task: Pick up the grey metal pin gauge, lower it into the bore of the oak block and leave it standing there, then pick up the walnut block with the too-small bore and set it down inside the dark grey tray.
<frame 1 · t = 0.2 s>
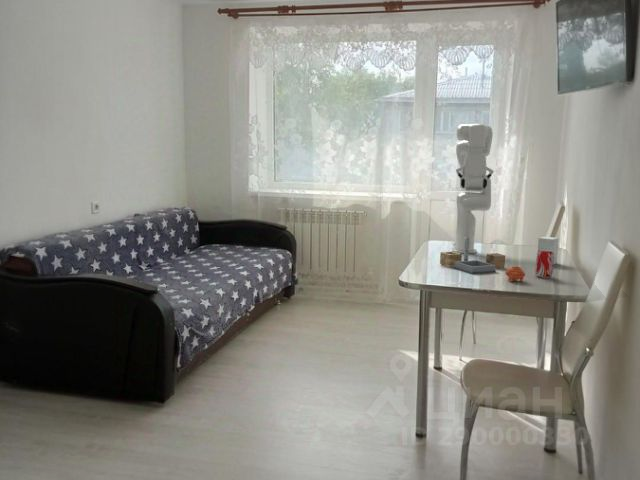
hand: (473, 187, 277), 36 cm above the table, fingers open, 9 cm apart
pot: (514, 281, 247), on the table
oak block: (450, 265, 277), on the table
walnut block: (495, 267, 275), on the table
tray: (474, 270, 267), on the table
pin gauge: (465, 262, 285), on the table
soda can: (543, 277, 256), on the table
supplement box: (546, 263, 287), on the table
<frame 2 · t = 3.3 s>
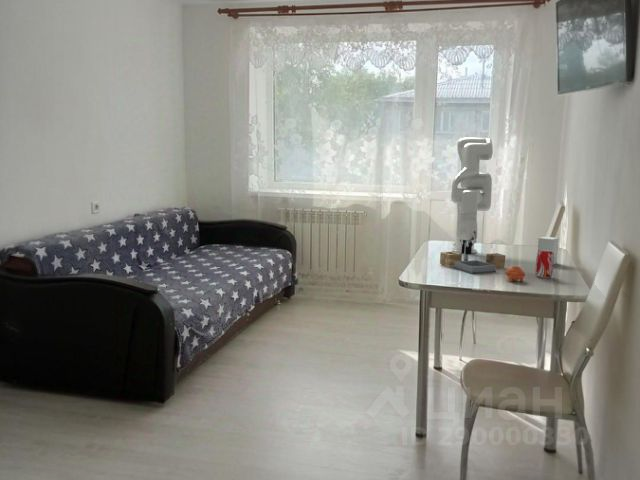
hand: (466, 253, 285), 4 cm above the table, fingers closed on pin gauge, 2 cm apart
pin gauge: (465, 262, 285), on the table, touching gripper
everything else where it was.
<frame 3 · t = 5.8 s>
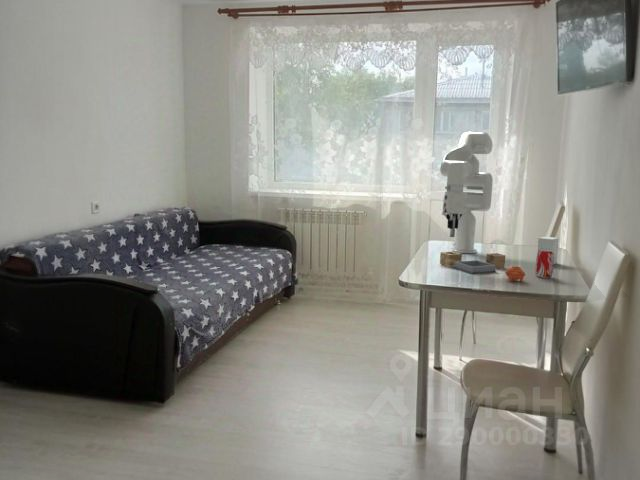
hand: (452, 228, 274), 18 cm above the table, fingers closed on pin gauge
pin gauge: (452, 236, 275), point 14 cm above the table, touching gripper
everything else where it was.
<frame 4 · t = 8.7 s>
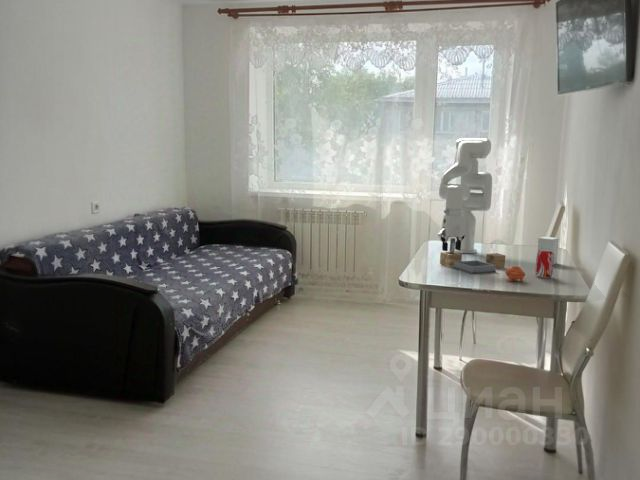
hand: (451, 250, 276), 7 cm above the table, fingers open, 6 cm apart
oak block: (450, 265, 277), on the table, touching pin gauge
pin gauge: (450, 263, 277), point 1 cm above the table, touching oak block
everything else where it was.
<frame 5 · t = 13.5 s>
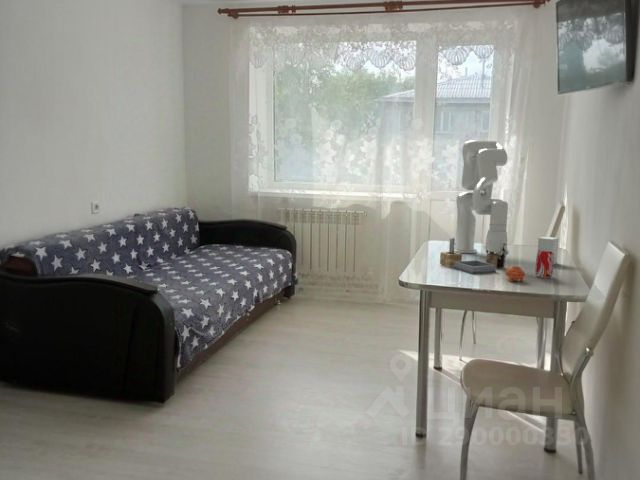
hand: (495, 265, 275), 1 cm above the table, fingers closed on walnut block, 6 cm apart
walnut block: (495, 267, 275), on the table, touching gripper
everything else where it was.
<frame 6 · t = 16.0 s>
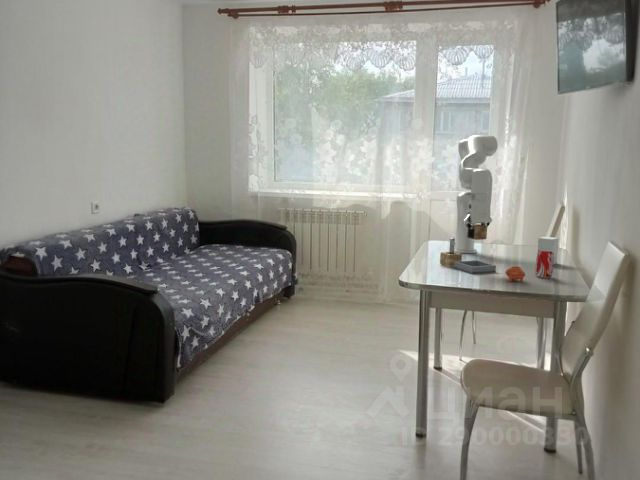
hand: (476, 236, 265), 15 cm above the table, fingers closed on walnut block, 6 cm apart
walnut block: (476, 238, 265), point 14 cm above the table, touching gripper
everything else where it was.
when the fingers open (3 cm above the table, at t = 18.5 s): walnut block drops 2 cm, resting on tray.
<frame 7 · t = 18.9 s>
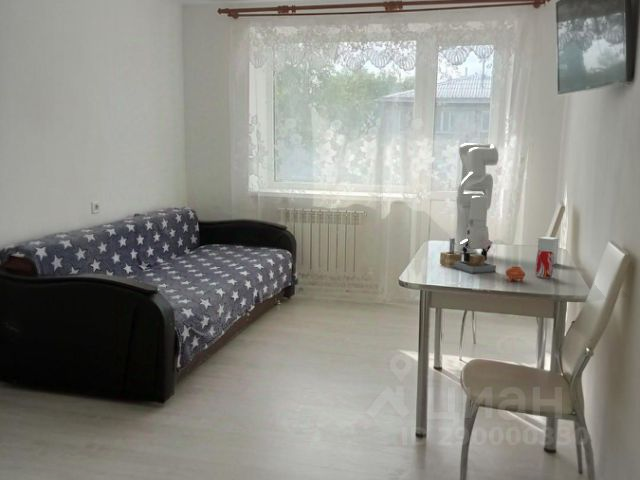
hand: (475, 260, 267), 4 cm above the table, fingers open, 9 cm apart
walnut block: (474, 268, 267), point 1 cm above the table, touching tray
everything else where it was.
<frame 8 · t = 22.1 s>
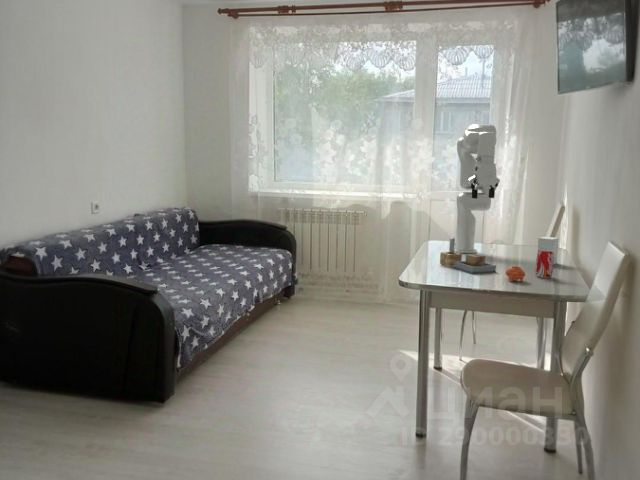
hand: (482, 198, 267), 32 cm above the table, fingers open, 9 cm apart
nothing on the table moved.
at the end: walnut block inside the target area on the tray (0.1 cm from its centre), point 0.8 cm above the tray's base; pin gauge 0.2 cm off-centre on the oak block, point 1.0 cm above the oak block's base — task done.
